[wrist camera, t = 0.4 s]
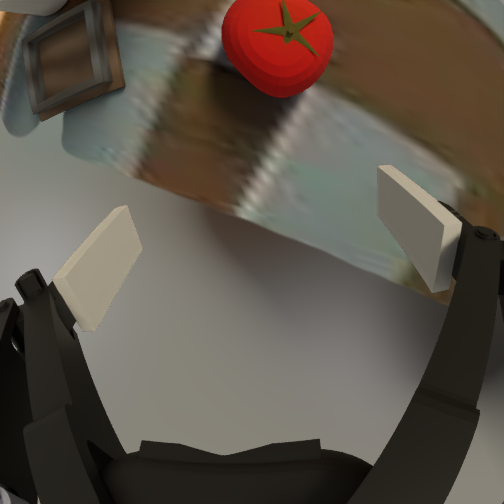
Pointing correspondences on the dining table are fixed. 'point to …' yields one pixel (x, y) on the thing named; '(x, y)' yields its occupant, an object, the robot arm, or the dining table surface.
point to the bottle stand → (72, 59)
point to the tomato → (278, 44)
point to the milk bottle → (32, 6)
